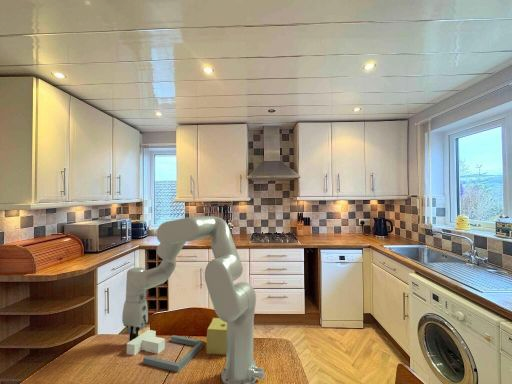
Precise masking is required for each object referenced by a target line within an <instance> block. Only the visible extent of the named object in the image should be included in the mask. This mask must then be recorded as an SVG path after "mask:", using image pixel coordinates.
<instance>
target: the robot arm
mask: <svg viewBox="0 0 512 384" xmlns="http://www.w3.org/2000/svg"><path fill="white" fill-rule="evenodd" d="M232 236H233V235H232V232H231V230H230V227H229V225H228V222H226V220H224V218H223V217H222V218H221V217H220V216H212V215H203V216H189V217H183V218H177V219H173V220H168V221H164V222H162V223H161V224H160V225H159V226H158V228H157V230H156V238H157V241H158V242H159V244H158V246H157V248H156V254H157V256H158V257H159V258H160V259H161V260H162V261H161V262H160V264H159V265H158V266H157V267H153V268H150V269H147V270H146V269H145V268H144V267H140V266H139V267H132V268H129V269H128V270H127V272H126V283H125V301H124V304H123V309H122V318H121V319H122V320H121V321H122V324H123V326H124V327H125V328H127V330H128V331H127V332H128V333H129V341H128V342H130V341H131V340H133V339H135V338H136V337H138V336H139V332H140V331H142V330H144V329H146V324H147V323H148V320H149V309H148V301H147V296H146V290H149V289H152V288H154V287H157V286H159V285H162V284H165V282H168V281H167V280H169V279H170V277H171V276H172V274H173V273H174V271H175V268H176V266H177V256H178V255H179V253H180V252H181V250H182V249H183V247H184V246H185V244H186V243H187V242H193V241H199V240H203V239H208V238H210V239H211V241H210V244H211V246H210V247H211V251H212V254H213V259H211V260H210V261H209V262H208V263H207V264H206V266H205V269H204V281H205V285H206V287H207V290H208V294H209V297H210V300H211V303H212V307H213V309H214V313H216V316H217V318H220V319H221V320H222V321H224V322H227V333H226V355H225V366H224V368H223V369H222V371H221V375H220V377H221V381H222V383H223V384H255V383H256V381H257V379H261V380H264V379H265V375H266V372H264V367H261V366H260V367H259V366H257V365H256V364H257V363H256V360H254V332H255V331H254V329H255V328H254V327H255V326H254V324H255V322H254V321H255V311H256V310H255V309H256V302H257V295H256V290H255V288H254V287H253V286H252V285H251V284H250V283H249V282H246V281H241V282H240V281H239V282H237V283H235V284H234V281H236V280H238V279H239V278H240V277H241V276H242V274H243V272H244V271H243V270H244V269H243V264H242V260H241V259H240V256H239V252H238V250H237V247H236V245H235V242H234V240H233V237H232Z"/></svg>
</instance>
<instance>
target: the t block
mask: <svg viewBox="0 0 512 384" xmlns="http://www.w3.org/2000/svg"><path fill="white" fill-rule="evenodd" d="M156 331H157V330H152V329H147V330H146V331H144V332H142V333H141V334H138V337H136V338H135V339H133V340H131V341H130V342H129V341H128V342H127V343H126V355H130V356H136V355H137V354H138V353H140V352H142V351H143V350H145V351H144V352H148V353H153V354H156V355H158V354H160V353H161V352H162V351H164V350H165V348H166V345H165V344H166V342H165V341H166V338H163V337H159V336H157V335H156V334H157V333H156ZM141 350H142V351H141Z"/></svg>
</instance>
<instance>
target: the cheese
mask: <svg viewBox="0 0 512 384" xmlns="http://www.w3.org/2000/svg"><path fill="white" fill-rule="evenodd" d="M226 333H227V322H224V321H222V320H221V319H220V318H219V317H212V320H211V322H210V324H209V326H208V327H207V329H206V354H209V355H223V356H224V355H225V356H226Z"/></svg>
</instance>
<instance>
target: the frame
mask: <svg viewBox="0 0 512 384" xmlns="http://www.w3.org/2000/svg"><path fill="white" fill-rule="evenodd" d="M170 341H171V342H172V343H175V344H176V343H178V344H183V345H188V346H192V348H191V350H189V351H188V352H187V353H186V354H185V355H184V356H183V357H182V358H181V359H180V360H179V361H178V362H175V361H174V362H173V361H170V360H167V359H161V358H157V357H153V356H149V355H145V356H143V359H142V364H143V365H146V366H147V365H148V366H152V367H155V368H160V369H164V370H167V371H171V372H175V373H179V372H180V371H181V370H182V369H183V368H184V367H185V366H186V365H187V364H188V363H189V362H190V361H191V360H192V359H193V358H194V357H195V356H196V355H197V354H198V353H199V351H200V350H201V349H203V348H204V347H205V341H204V340H201V339H195V338H190V337H185V336H180V335H175V334H173V335H172V336H170Z"/></svg>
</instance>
